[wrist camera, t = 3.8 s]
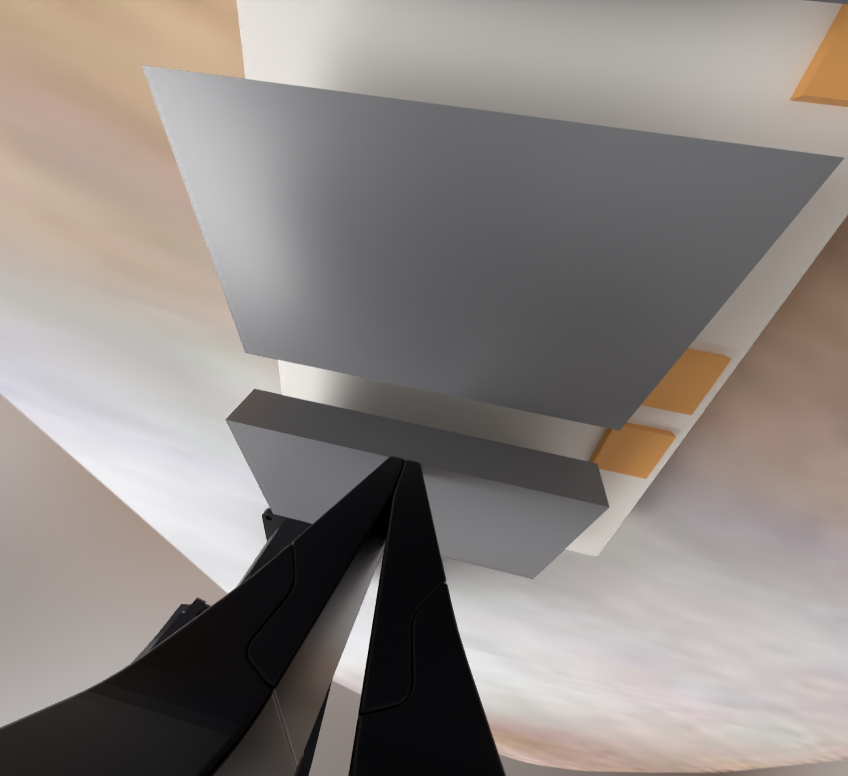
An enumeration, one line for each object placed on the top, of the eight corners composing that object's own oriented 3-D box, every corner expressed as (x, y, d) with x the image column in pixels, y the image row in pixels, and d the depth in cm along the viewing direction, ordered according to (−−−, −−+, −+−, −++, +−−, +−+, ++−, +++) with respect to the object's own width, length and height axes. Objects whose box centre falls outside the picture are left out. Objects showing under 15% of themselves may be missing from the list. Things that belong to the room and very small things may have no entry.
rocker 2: (530, 542, 13) (532, 579, 12) (290, 484, 14) (273, 513, 13) (597, 463, 9) (609, 507, 8) (254, 388, 10) (225, 419, 9)
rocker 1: (606, 396, 9) (619, 430, 8) (271, 329, 10) (245, 352, 9) (778, 151, 5) (844, 157, 4) (202, 74, 6) (141, 65, 5)
